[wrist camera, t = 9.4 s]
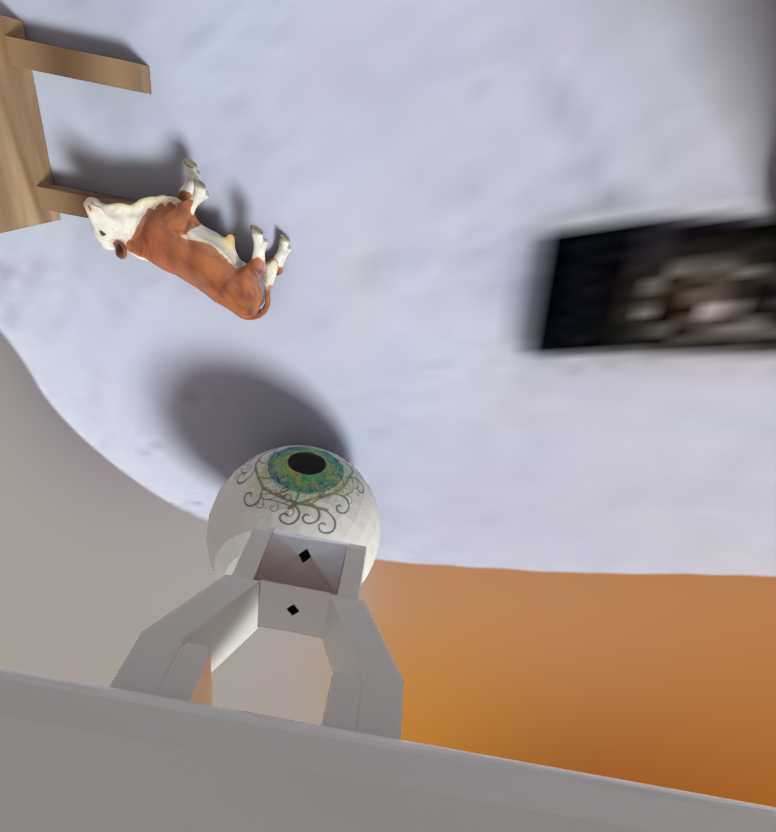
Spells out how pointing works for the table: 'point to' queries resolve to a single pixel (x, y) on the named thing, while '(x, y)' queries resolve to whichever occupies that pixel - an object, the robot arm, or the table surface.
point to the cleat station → (23, 132)
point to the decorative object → (293, 503)
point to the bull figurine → (190, 246)
